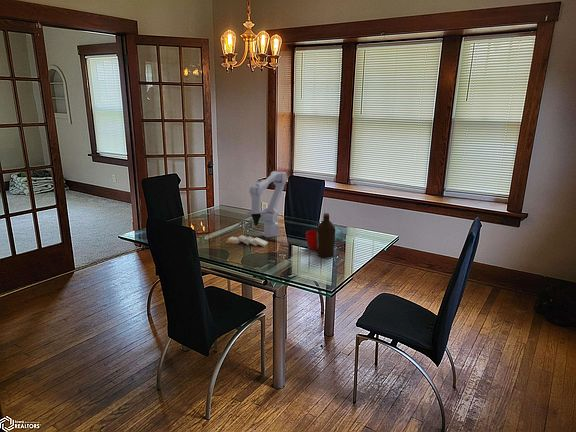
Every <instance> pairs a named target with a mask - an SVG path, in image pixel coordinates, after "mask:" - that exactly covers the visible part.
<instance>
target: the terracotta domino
mask: <svg viewBox="0 0 576 432" xmlns="http://www.w3.org/2000/svg"><path fill="white" fill-rule="evenodd" d="M225 243H226V244H233V245H238V244H239V243H236V242H229V241H228V240H227V241H225Z"/></svg>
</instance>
